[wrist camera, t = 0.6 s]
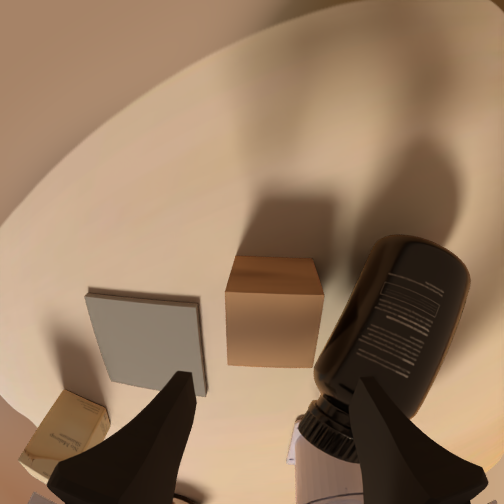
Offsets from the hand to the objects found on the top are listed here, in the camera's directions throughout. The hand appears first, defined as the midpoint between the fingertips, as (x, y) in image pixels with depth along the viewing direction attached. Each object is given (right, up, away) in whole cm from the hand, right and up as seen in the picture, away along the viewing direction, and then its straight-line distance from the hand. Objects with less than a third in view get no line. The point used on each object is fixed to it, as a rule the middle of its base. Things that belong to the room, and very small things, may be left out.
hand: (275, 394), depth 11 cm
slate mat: (-10, -2, +11) cm, 15 cm away
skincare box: (-21, -13, +17) cm, 29 cm away
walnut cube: (0, +3, +9) cm, 10 cm away
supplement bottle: (+10, +5, +4) cm, 12 cm away
